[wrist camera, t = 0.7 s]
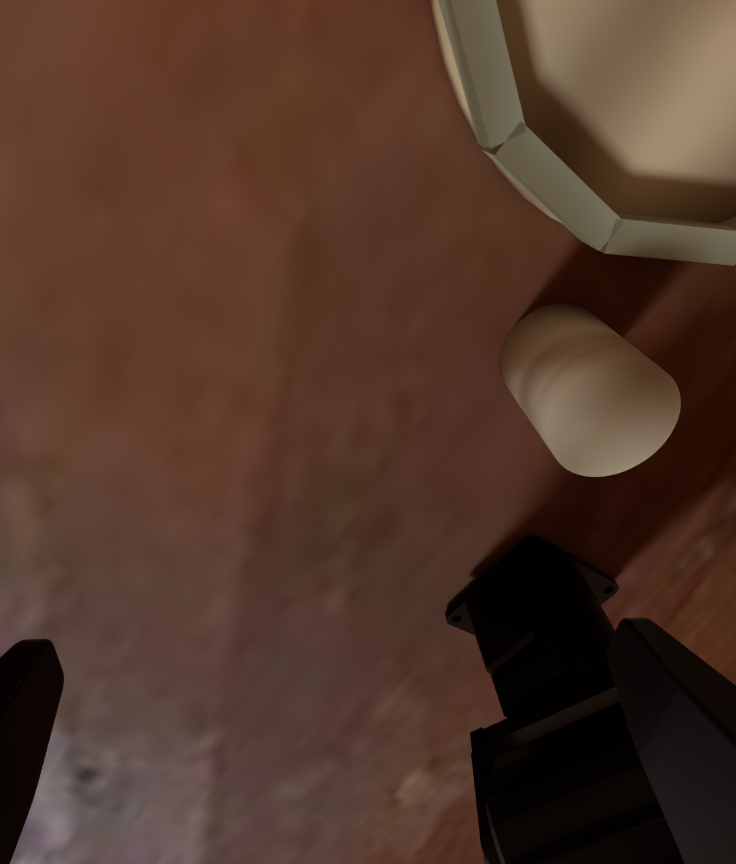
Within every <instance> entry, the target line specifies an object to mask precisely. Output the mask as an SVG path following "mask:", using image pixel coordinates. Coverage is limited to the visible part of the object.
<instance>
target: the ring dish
mask: <svg viewBox="0 0 736 864" xmlns="http://www.w3.org/2000/svg"><path fill="white" fill-rule="evenodd" d="M430 7H431V14H432V18H433V23H434V27H435V31H436V36H437V40H438V44H439V49H440V53H441V57H442V61H443V64H444V67H445V70H446V73H447V75H448V78H449V81H450V84H451V87H452V89H453V92H454V95H455V98H456V100H457V103H458V105H459V107H460V109H461V111H462V113H463V115H464V117H465V119H466V121H467V123H468V125H469V127H470V129H471V131H472V133H473V135H474V137H475V139H476V140H477V142H478V144H479V145H480V146H481V148H482V149H483V150H482V151H484V152H485V153H486V155H487V156H488V158H489V159H490V160H491V162H492V163H493V165H494V166H495V168H496V169H497V170H498V171H499V173H500V174H501V175H502V176H503V177H504V178H505V179H506V180H507V181H508V182H509V183H510V184H511V185H512V186H513V187H514V188H515V189H516V190H517V192H518V193H519V194H520V195H521V196H523V197H524V198H525V199H527V200H528V201H529V202H530V203H532V204H533V205H534V206H536V207H537V208H538V209H540V210H541V211H542V212H543V213H545V214H546V215H548V216H549V217H551V218H553V219H555V220H557V221H559V222H560V223H562V224H563V225H565V226H566V227H567V228H568V229H569V230H570V231H571V232H572V233H573V234H574V235H575V236H577V237H578V238H579V239H580V240H581V241H582V242H584V243H586V244H587V245H589V246H591V247H593V248H595V249H596V250H598V251H601V252H603V253H605V254H616V255H626V256H637V257H648V258H658V259H669V260H680V261H690V262H701V263H712V264H722V265H733V266H735V264H736V0H430Z"/></svg>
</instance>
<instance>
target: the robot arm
mask: <svg viewBox="0 0 736 864" xmlns="http://www.w3.org/2000/svg"><path fill="white" fill-rule="evenodd" d="M532 546H533V547H532ZM618 589H619V586H618V584H617V583H616V581H615V580H614V579H613V578H612V577H610V576H608V575H607V574H605V573H603V572H601V571H599V570H598V569H596V568H594V567H592V566H591V565H589V564H587V563H585V562H583V561H582V560H580V559H578V558H576V557H575V556H573V555H571V554H569V553H567V552H566V551H564V550H562V549H560V548H558V547H557V546H555V545H553V544H551V543H550V542H548V541H546V540H544V539H542V538H541V537H539V536H536V535H534V536H529V537H527V538H525V539H524V540H523V541H521V542H520V543H519V544H518V545H517V546H516V547H515V548H514V549H513V550H512V551H511V552H509V553H508V554H507V555H506V556H505V557H504V558H503V559H502V560H501V561H500V562H498V563H497V564H496V565H495V566H494V567H493V568H492V569H491V570H490V571H489V572H487V573H486V574H485V575H484V576H483V577H482V578H481V579H480V580H479V581H478V582H477V583H475V584H474V585H473V586H472V587H471V588H470V589H469V590H468V591H467V592H466V593H464V594H463V595H462V596H461V597H460V598H459V599H458V600H457V601H456V602H455V603H454V604H452V605H451V606H450V607H449V608H448V609H447V610H446V612H445V616H446V620H447V622H448V624H450V625H452V626H454V627H457V628H459V629H461V630H464V631H466V632H468V633H471V634H473V635H475V636H476V640H477V643H478V646H479V649H480V652H481V655H482V658H483V661H484V665H485V668H486V670H487V672H488V673H490V674H491V677H492V681H493V684H494V687H495V690H496V693H497V696H498V699H499V702H500V705H501V708H502V711H503V714H504V716H505V717H508V718H506V719H504V720H502V721H500V722H498V723H495V724H493V725H491V726H489V727H487V728H484V729H483V728H482V727H481V728H479V729H477V730H474V731H472V732H471V733H470V737H471V746H472V753H471V757H472V767H473V776H474V785H475V794H476V804H477V813H478V822H479V831H480V841H481V847H482V850H483V853H484V861H485V864H736V686H735V685H734V684H733V683H732V682H730V681H729V680H728V679H726V678H725V677H724V676H722V675H721V674H720V673H719V672H717V671H716V670H715V669H713V668H712V667H711V666H710V665H708V664H707V663H706V662H704V661H703V660H702V659H701V658H699V657H698V656H697V655H695V654H694V653H693V652H692V651H690V650H689V649H688V648H686V647H685V646H684V645H683V644H681V643H680V642H679V641H677V640H676V639H675V638H673V637H672V636H671V635H670V634H668V633H667V632H666V631H664V630H663V629H662V628H661V627H659V626H658V625H657V624H655V623H654V622H653V621H651V620H649V619H647V618H642V617H640V618H624V619H622V620H621V621H620V622H619V624H618V627H617V629H616V631H615V629H614V628H613V626H612V624H611V623H610V621H609V619H608V617H607V616H606V614H605V612H604V610H603V609H602V607H601V604H603V603H604V602H605V601H606V600H608V599H609V598H610V597H611V596H613V595H614V594H615V593H616V592H617V591H618ZM63 684H64V674H63V670H62V667H61V664H60V661H59V659H58V656H57V653H56V650H55V647H54V645H53V643H52V642H51V641H50V640H49V639H28V640H22V641H19V642H18V643H16V644H15V645H13V646H12V647H11V648H10V649H9V650H8V651H7V652H6V653H4V654H3V655H2V656H1V657H0V864H10V862H11V859H12V856H13V854H14V851H15V848H16V846H17V843H18V840H19V837H20V835H21V832H22V829H23V827H24V824H25V821H26V819H27V816H28V813H29V810H30V807H31V804H32V802H33V799H34V795H35V792H36V789H37V785H38V782H39V778H40V774H41V770H42V766H43V763H44V759H45V755H46V751H47V747H48V744H49V740H50V736H51V732H52V728H53V724H54V721H55V717H56V713H57V709H58V705H59V702H60V698H61V694H62V690H63Z"/></svg>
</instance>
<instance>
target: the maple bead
mask: <svg viewBox="0 0 736 864" xmlns="http://www.w3.org/2000/svg"><path fill="white" fill-rule="evenodd" d="M499 369H500V374H501V377H502V379H503V381H504V383H505V385H506V386H507V388H508V389H509V390H510V392H511V393H512V395H513V396H514V398H515V399H516V401H517V402H518V404H519V405H520V407H521V408H522V410H523V411H524V413H525V414H526V415H527V417H528V418H529V420H530V421H531V423H532V424H533V426H534V427H535V429H536V430H537V432H538V433H539V435H540V436H541V437H542V439H543V440H544V442H545V443H546V445H547V446H548V448H549V449H550V451H551V452H552V454H553V455H554V457H555V458H556V460H557V461H558V462H559V463H560V464H561V465H562V466H563V467H564V468H566V469H567V470H569V471H571V472H573V473H575V474H578V475H582V476H589V477H602V476H609V475H614V474H618V473H621V472H624V471H626V470H628V469H631V468H633V467H635V466H637V465H638V464H640V463H642V462H643V461H645V460H646V459H648V458H649V457H650V456H651V455H653V454H654V453H655V452H656V451H657V450H658V449H659V448H660V447H661V446H662V445H663V444H664V443H665V441H666V440H667V439H668V437H669V436H670V435H671V433H672V431H673V429H674V427H675V425H676V423H677V421H678V418H679V414H680V408H681V397H680V392H679V389H678V386H677V384H676V383H675V381H674V380H673V378H672V377H671V376H670V375H669V374H668V373H667V372H665V371H664V370H663V369H662V368H660V367H659V366H658V365H657V364H655V363H654V362H653V361H651V360H650V359H649V358H648V357H646V356H645V355H644V354H643V353H641V352H640V351H639V350H638V349H636V348H635V347H634V346H633V345H631V344H630V343H629V342H628V341H626V340H625V339H624V338H622V337H621V336H620V335H619V334H617V333H616V332H615V331H614V330H612V329H611V328H610V327H609V326H607V325H606V324H605V323H604V322H602V321H601V320H600V319H599V318H597V317H596V316H595V315H593V314H592V313H591V312H590V311H588V310H587V309H585V308H583V307H581V306H579V305H575V304H570V303H556V304H550V305H546V306H543V307H541V308H538V309H536V310H534V311H532V312H531V313H529V314H528V315H526V316H525V317H524V318H522V319H521V320H520V321H519V322H518V323H517V324H516V325H515V326H514V327H513V328H512V330H511V331H510V332H509V334H508V335H507V337H506V339H505V341H504V343H503V345H502V348H501V352H500V357H499Z"/></svg>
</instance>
